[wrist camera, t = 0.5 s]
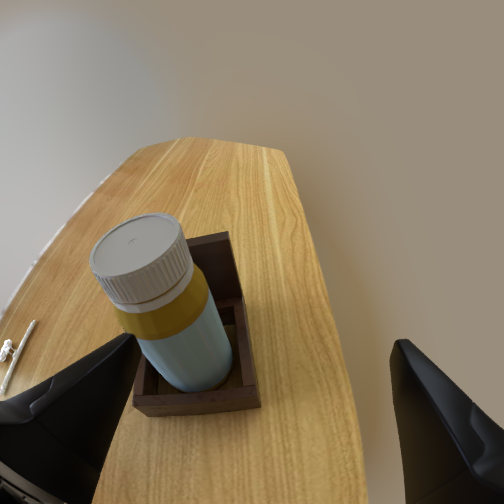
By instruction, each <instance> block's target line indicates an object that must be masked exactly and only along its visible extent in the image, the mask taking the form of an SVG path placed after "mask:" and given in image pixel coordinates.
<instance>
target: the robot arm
mask: <svg viewBox="0 0 504 504" xmlns="http://www.w3.org/2000/svg"><path fill="white" fill-rule="evenodd" d="M141 356H142V349H141V347H140V345H139V343H138V341H137V338H136V336H135V335H134V334H131V333H123V334H121V335H119V336H118V337H116V338H114V339H113V340H111V341H109V342H108V343H106V344H104V345H103V346H101V347H99V348H98V349H96V350H95V351H93V352H91V353H90V354H88V355H86V356H85V357H83V358H81V359H80V360H78V361H76V362H75V363H73V364H71V365H70V366H68V367H67V368H65V369H63V370H62V371H60V372H58V373H57V374H55V375H54V376H52V377H50V378H48V379H47V380H45V381H43V382H41V383H40V384H38V385H36V386H34V387H32V388H30V389H28V390H26V391H24V392H22V393H20V394H18V395H16V396H14V397H12V398H10V399H8V400H5V401H0V504H64V502H65V503H67V504H91V503H92V500H93V496H94V493H95V490H96V487H97V484H98V480H99V477H100V473H101V471H102V468H103V465H104V462H105V459H106V456H107V453H108V450H109V448H110V445H111V442H112V439H113V436H114V434H115V431H116V428H117V426H118V423H119V420H120V418H121V415H122V413H123V410H124V407H125V405H126V402H127V400H128V397H129V395H130V392H131V389H132V387H133V383H134V380H135V376H136V373H137V370H138V366H139V363H140V360H141ZM390 371H391V383H392V394H393V405H394V411H395V416H396V422H397V428H398V434H399V441H400V448H401V455H402V464H403V473H404V484H405V499H406V504H504V429H502V428H501V427H500V426H499V425H498V424H496V423H495V422H494V421H493V420H492V419H491V418H490V417H489V416H487V415H486V414H485V413H484V412H483V411H482V410H481V409H480V408H479V407H478V406H477V405H476V404H475V403H474V402H473V403H472V400H471V399H470V398H469V397H468V396H467V395H466V394H465V393H464V392H463V391H462V390H461V389H460V388H459V387H458V386H457V385H456V384H455V383H454V382H453V381H452V380H451V379H450V378H449V377H448V376H447V375H446V374H445V373H444V372H443V371H442V370H440V369H439V368H438V367H437V366H436V365H435V364H434V363H433V362H432V361H431V360H430V359H429V358H428V357H427V356H426V355H424V353H422V352H421V351H420V350H419V349H418V348H417V347H416V346H415V345H414V344H413V343H412V342H411V341H410V340H408V339H399V340H396V341H395V343H394V346H393V349H392V353H391V356H390Z"/></svg>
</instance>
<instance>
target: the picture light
mask: <svg viewBox="0 0 504 504" xmlns="http://www.w3.org/2000/svg"><path fill="white" fill-rule="evenodd" d="M34 325H35V320H33V321H32V324H30V326H29V328H28V330H27V332H26V334H25V336H24V338H23V340H22V342H21V344H20V346H19V348H18V350H14V349H13V348H12V349H13V350H14V351H15V352H14V355H13V358H14V359H13V361H12V363H11V366H10V368H9V370H8V373H7V375H6V377H5V380H4V382H3V385H2V387H1V388H2V389H1V395H2V394H3V393H4V390H6V386H7V384H8V381H9V379H10V376H11V374H12V371H13V369H14V367H15V364H16V362H17V360H18V358H19V355H20V353H21V351H22V349H23V347H24V345H25V343H26V341H27V339H28V337H29V335H30V333H31V331H32V329H33V328H34ZM11 343H12V342H11V340H7V341H5V343H4V346H3V348H2V350H1V352H0V361H1V362H3V361H5V360H6V356H7V354H8V352H9V350H10V348H11V347H12V344H11ZM9 353H10V352H9ZM10 354H11V353H10ZM11 355H12V354H11Z"/></svg>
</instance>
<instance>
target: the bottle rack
mask: <svg viewBox="0 0 504 504" xmlns="http://www.w3.org/2000/svg"><path fill="white" fill-rule="evenodd" d="M185 240H186V242H187V245H188V248H189V253H190V255H191V257H192V260H193V263H194V264H195V265H196V266H197V267H198V268H199V269H200V270H201V271H202V272H203V275H204V277H205V279H206V282H207V284H208V286H209V289H210V292H211V295H212V297H213V300H214V303H215V306H216V308H217V311H218V314H219V317H220V319H221V322H222V325H223V326H224V325H230V324H236V331H237V340H238V349H239V357H240V365H241V373H242V381H243V387H239V388H232V389H224V390H216V391H207V392H197V393H185V394H170V395H157V389H158V370H157V369H156V368H155V367H154V366H153V365H152V363H151V362H150V361H149V360H148V359H147V358H146V356H145V355H144V354H143V353H142V356H141V360H140V363H139V366H138V370H137V373H136V376H135V380H134V389H133V400H132V406H133V407H135V408H136V409H138V410H139V411H140V412H142V413H143V414H145V415H146V416H184V415H200V414H212V413H222V412H231V411H239V410H246V409H253V408H259V407H261V400H260V393H259V387H258V381H257V375H256V368H255V362H254V356H253V349H252V343H251V336H250V329H249V323H248V316H247V309H246V304H245V300H244V296H243V292H242V287H241V283H240V279H239V275H238V271H237V266H236V262H235V258H234V254H233V249H232V245H231V241H230V237H229V232H228V231H226V232H221V233H216V234H210V235H205V236H200V237H195V238H190V239H185Z"/></svg>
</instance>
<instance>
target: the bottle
mask: <svg viewBox="0 0 504 504" xmlns="http://www.w3.org/2000/svg"><path fill="white" fill-rule="evenodd" d="M89 263H90V267H91V270H92V272H93V274H94V275H95V277H96V279H97V280H98V282H99V283H100V285H101V286H102V288H103V290H104V291H105V293H106V294H107V295H108V297H109V298H110V300H111V301H112V302H113V305H114V309H115V314H116V317H117V319H118V321H119V323H120V324H121V326H122V327H123V329H124V330H125V332H126V333H131V334H134V335H135V336H136V338H137V341H138V343H139V345H140V347H141V349H142V353H143V354H144V355H145V356H146V358H147V359H148V360H149V361H150V362H151V363H152V365H153V366H154V367H155V368H156V369H157V370H158V371H159V373H160V374H161V375H162V376H163V377H164V378H165V379H166V380H167V381H168V382H169V383H170V384H171V385H172V386H173V387H174V388H176V389H177V390H179V391H181V392H184V393H197V392H207V391H212V390H214V389H216V388H217V387H219V386H220V385H221V384H222V383H224V381H225V380H226V379H227V377H228V376H229V375H230V373H231V370H232V367H233V363H234V359H233V352H232V348H231V346H230V343H229V340H228V338H227V335H226V333H225V330H224V327H223V325H222V322H221V319H220V317H219V314H218V311H217V308H216V306H215V303H214V300H213V297H212V295H211V292H210V289H209V286H208V284H207V282H206V279H205V277H204V275H203V272H202V271H201V270H200V269H199V268H198V267H197V266H196V265H195V264H194V263H193V260H192V257H191V255H190V253H189V248H188V245H187V242H186V240H185V237H184V234H183V231H182V228H181V225H180V223H179V222H178V220H177V219H176V218H175V217H174V216H172V215H170V214H166V213H147V214H142V215H139V216H136V217H133V218H130V219H128V220H126V221H124V222H122V223H120V224H118V225H116V226H115V227H113V228H112V229H110V230H109V231H108V232H107V233H105V234H104V235H103V236H102V237H101V238H100V239H99V240H98V242H97V243H96V244H95V246H94V247H93V249H92V251H91V254H90V258H89Z"/></svg>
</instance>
